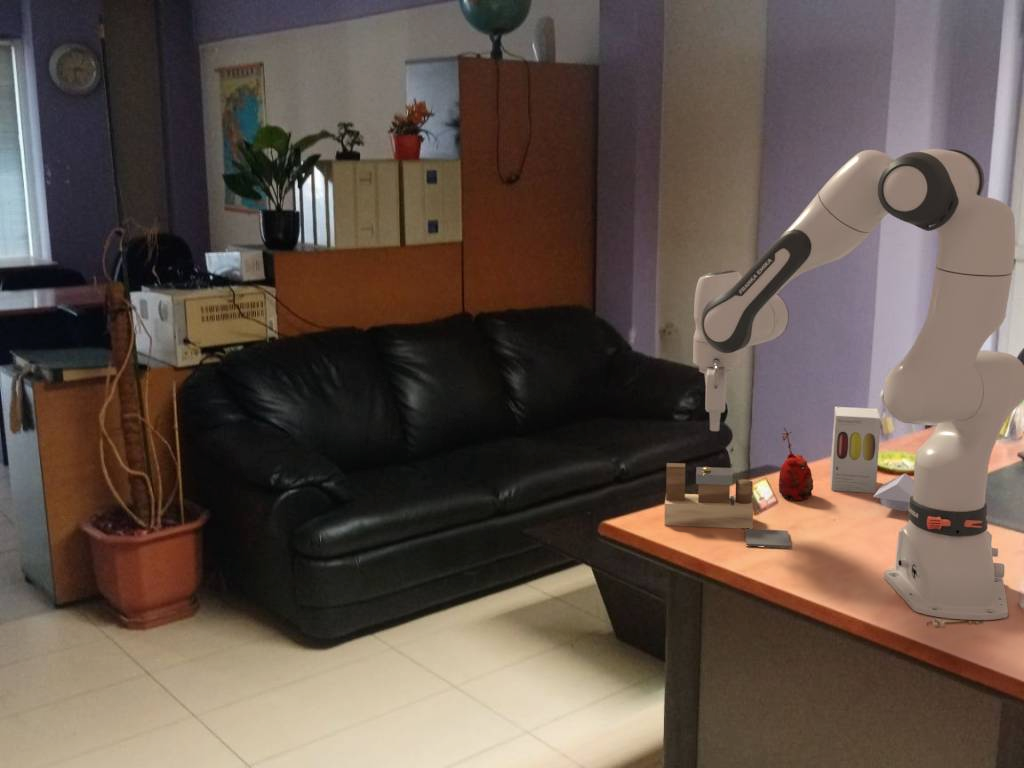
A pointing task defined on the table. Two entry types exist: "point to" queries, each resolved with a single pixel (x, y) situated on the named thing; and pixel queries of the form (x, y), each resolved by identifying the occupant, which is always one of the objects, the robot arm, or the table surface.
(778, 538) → the bench mat
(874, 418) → the supplement box
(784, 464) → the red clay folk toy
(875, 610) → the table surface
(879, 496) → the white house model
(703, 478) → the lever cap
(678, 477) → the wooden block toy
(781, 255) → the robot arm
